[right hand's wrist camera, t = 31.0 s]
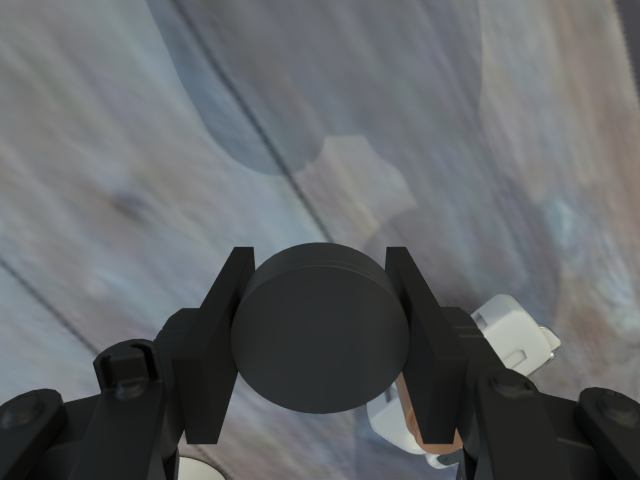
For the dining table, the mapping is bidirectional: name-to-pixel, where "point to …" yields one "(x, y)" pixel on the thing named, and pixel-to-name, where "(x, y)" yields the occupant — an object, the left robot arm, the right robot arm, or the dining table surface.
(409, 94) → the dining table surface
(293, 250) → the lid
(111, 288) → the dining table surface
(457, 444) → the bottle
